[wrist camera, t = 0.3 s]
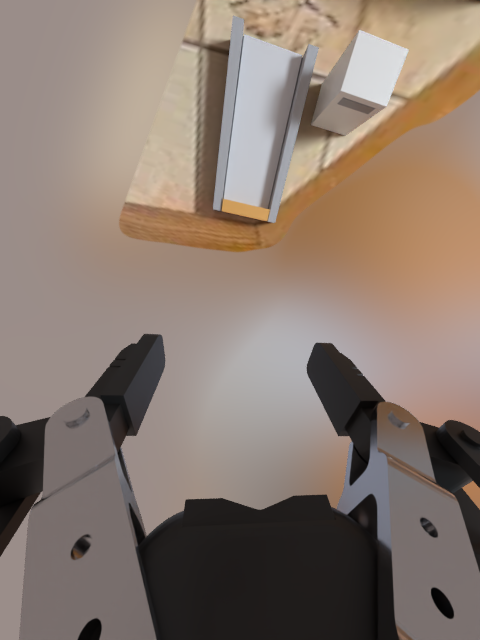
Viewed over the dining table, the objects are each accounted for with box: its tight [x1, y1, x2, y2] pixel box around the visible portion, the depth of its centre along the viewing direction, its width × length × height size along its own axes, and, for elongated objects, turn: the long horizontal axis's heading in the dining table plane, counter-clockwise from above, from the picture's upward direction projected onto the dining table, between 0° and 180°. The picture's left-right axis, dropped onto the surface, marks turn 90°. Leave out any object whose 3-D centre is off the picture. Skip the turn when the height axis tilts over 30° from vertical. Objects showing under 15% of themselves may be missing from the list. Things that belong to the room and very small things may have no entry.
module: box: [311, 30, 409, 136], centre depth 22 cm, size 4×6×8 cm
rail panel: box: [213, 16, 319, 223], centre depth 26 cm, size 18×10×3 cm, turn 169°
